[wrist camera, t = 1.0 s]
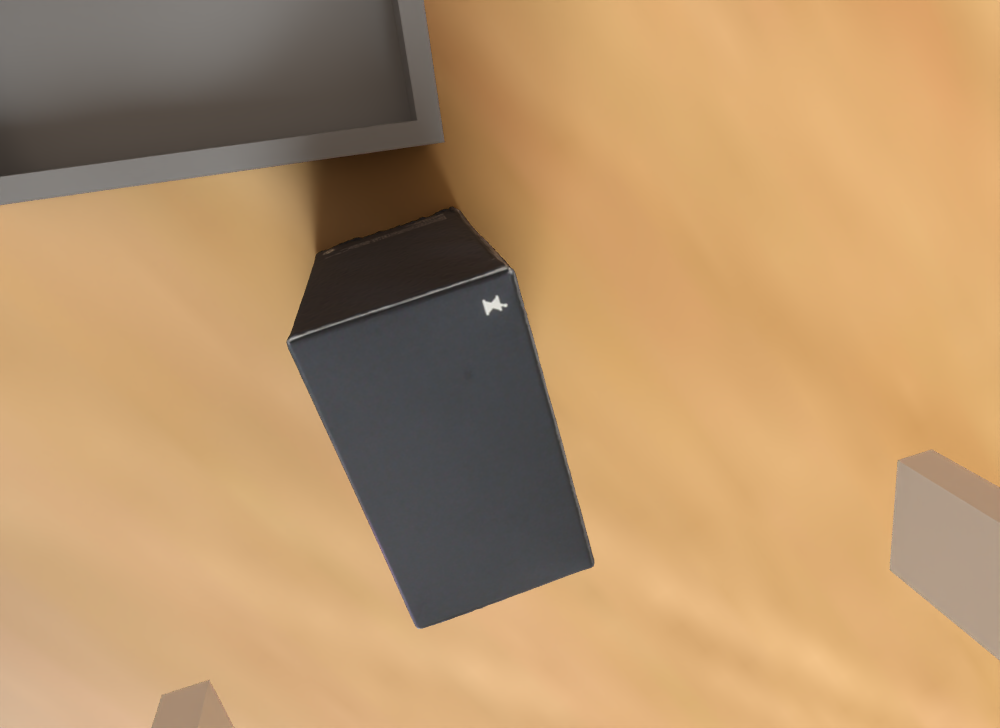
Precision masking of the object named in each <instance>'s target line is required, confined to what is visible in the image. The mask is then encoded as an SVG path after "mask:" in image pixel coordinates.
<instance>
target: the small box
mask: <svg viewBox="0 0 1000 728" xmlns="http://www.w3.org/2000/svg"><path fill="white" fill-rule="evenodd" d="M287 346H288V349H289V351H290V353H291V355H292V357H293V359H294V362H295V364H296V366H297V368H298V370H299V372H300V375H301V377H302V379H303V381H304V383H305V385H306V388H307V390H308V392H309V394H310V396H311V398H312V401H313V403H314V405H315V407H316V409H317V411H318V414H319V416H320V418H321V420H322V422H323V424H324V427H325V429H326V431H327V433H328V435H329V437H330V440H331V442H332V444H333V446H334V448H335V450H336V453H337V455H338V457H339V459H340V461H341V463H342V466H343V468H344V470H345V472H346V474H347V476H348V479H349V481H350V483H351V485H352V487H353V489H354V492H355V494H356V496H357V498H358V500H359V503H360V505H361V507H362V509H363V511H364V514H365V516H366V518H367V520H368V522H369V525H370V527H371V529H372V531H373V533H374V536H375V538H376V540H377V542H378V544H379V547H380V549H381V551H382V553H383V555H384V558H385V560H386V562H387V564H388V566H389V569H390V571H391V573H392V575H393V578H394V580H395V582H396V584H397V586H398V589H399V591H400V593H401V595H402V598H403V600H404V602H405V605H406V607H407V609H408V611H409V613H410V615H411V618H412V620H413V622H414V624H415V626H416V627H417V628H418V629H421V628H425V627H428V626H431V625H435V624H438V623H441V622H444V621H447V620H449V619H452V618H455V617H457V616H460V615H463V614H466V613H469V612H472V611H474V610H476V609H480V608H483V607H485V606H487V605H490V604H493V603H496V602H499V601H502V600H504V599H507V598H509V597H512V596H514V595H517V594H520V593H523V592H526V591H528V590H531V589H533V588H536V587H539V586H542V585H544V584H547V583H550V582H552V581H555V580H558V579H560V578H563V577H565V576H568V575H571V574H574V573H576V572H579V571H582V570H585V569H589V568H591V567H593V566H594V558H593V555H592V551H591V547H590V543H589V539H588V536H587V532H586V528H585V525H584V521H583V517H582V513H581V509H580V506H579V503H578V499H577V496H576V492H575V488H574V485H573V481H572V477H571V473H570V470H569V466H568V463H567V459H566V455H565V451H564V447H563V443H562V440H561V437H560V433H559V429H558V426H557V421H556V418H555V415H554V412H553V408H552V404H551V401H550V398H549V395H548V391H547V387H546V383H545V379H544V375H543V372H542V368H541V365H540V362H539V357H538V353H537V349H536V346H535V342H534V339H533V335H532V331H531V328H530V325H529V321H528V318H527V313H526V311H525V309H524V303H523V300H522V296H521V293H520V289H519V285H518V281H517V277H516V274H515V271H514V270H513V269H512V268H511V267H510V266H509V265H508V264H507V263H506V261H505V260H504V259H503V258H502V257H500V255H499V254H498V253H497V252H496V251H495V249H494V248H492V246H490V245H489V243H488V242H487V241H486V240H485V239H484V238H483V237H482V236H480V235H479V234H478V232H477V231H476V230H475V229H474V228H473V227H472V226H471V225H470V223H469V222H468V221H467V219H466V218H465V217H464V216H463V214H462V212H461V211H460V210H458V209H456V208H454V207H450V208H449V209H443V210H441V211H439V212H437V213H435V214H434V215H432V216H430V217H426V218H425V217H421V218H420V219H419V220H417V221H412V222H410V223H407V224H405V225H402V226H400V225H399V226H397V227H395V228H392V229H389V230H386V231H379V232H377V233H375V234H373V235H370V236H366V237H364V238H359V237H358V238H354V239H352V240H348V241H347V242H345V243H341V244H339V245H337V246H334V247H333V248H331V249H328V250H324V251H321V252H319V253H318V254H316V258H315V261H314V265H313V268H312V271H311V274H310V277H309V280H308V284H307V287H306V289H305V293H304V296H303V298H302V301H301V304H300V307H299V310H298V313H297V316H296V319H295V322H294V326H293V328H292V331H291V334H290V336H289V337H288V339H287Z"/></svg>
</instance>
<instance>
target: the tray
mask: <svg viewBox="0 0 1000 728" xmlns="http://www.w3.org/2000/svg"><path fill="white" fill-rule="evenodd" d="M442 142H444V135H443V128H442V121H441V115H440V108H439V101H438V94H437V88H436V81H435V74H434V67H433V61H432V54H431V47H430V40H429V34H428V27H427V20H426V13H425V7H424V0H0V205H4V204H11V203H18V202H25V201H32V200H39V199H46V198H53V197H60V196H68V195H75V194H82V193H89V192H96V191H103V190H110V189H117V188H124V187H131V186H138V185H145V184H152V183H160V182H167V181H174V180H181V179H188V178H195V177H202V176H209V175H216V174H223V173H230V172H237V171H244V170H251V169H259V168H266V167H273V166H280V165H287V164H294V163H301V162H308V161H315V160H322V159H329V158H336V157H343V156H351V155H358V154H365V153H372V152H379V151H386V150H393V149H400V148H407V147H414V146H421V145H428V144H435V143H442Z"/></svg>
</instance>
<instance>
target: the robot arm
mask: <svg viewBox="0 0 1000 728" xmlns="http://www.w3.org/2000/svg"><path fill="white" fill-rule="evenodd" d="M890 571H892V572H893V573H894V574H895V575H896V576H898V577H899V578H900V579H901V580H903V581H904V582H905V583H906V584H907V585H909V586H910V587H911V588H912V589H913V590H915V591H916V592H917V593H918V594H920V595H921V596H922V597H923V598H924V599H926V600H927V601H928V602H929V603H930V604H932V605H933V606H934V607H935V608H937V609H938V610H939V611H940V612H941V613H943V614H944V615H945V616H946V617H947V618H949V619H950V620H951V621H952V622H954V623H955V624H956V625H957V626H958V627H960V628H961V629H962V630H963V631H964V632H966V633H967V634H968V635H969V636H970V637H972V638H973V639H974V640H975V641H977V642H978V643H979V644H980V645H981V646H983V647H984V648H985V649H986V650H987V651H989V652H990V653H991V654H992V655H994V656H995V657H996V658H997V659H998V660H1000V487H998V486H996V485H994V484H992V483H991V482H989V481H987V480H985V479H984V478H982V477H980V476H978V475H976V474H975V473H973V472H971V471H969V470H967V469H966V468H964V467H962V466H960V465H959V464H957V463H955V462H953V461H951V460H950V459H948V458H946V457H944V456H942V455H941V454H939V453H937V452H935V451H934V450H929V451H925V452H922V453H919V454H916V455H913V456H910V457H907V458H904V459H900V460H898V464H897V477H896V491H895V504H894V518H893V532H892V545H891V559H890ZM152 728H234V726H233V724H232V722H231V721H230V719H229V717H228V715H227V713H226V711H225V709H224V707H223V705H222V703H221V701H220V699H219V697H218V696H217V694H216V692H215V690H214V688H213V686H212V684H211V682H210V680H208V681H204V682H201V683H198V684H195V685H192V686H189V687H186V688H183V689H179V690H176V691H173V692H170V693H167V694H164V695H162V696H161V699H160V703H159V706H158V709H157V712H156V715H155V718H154V722H153V725H152Z"/></svg>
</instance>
